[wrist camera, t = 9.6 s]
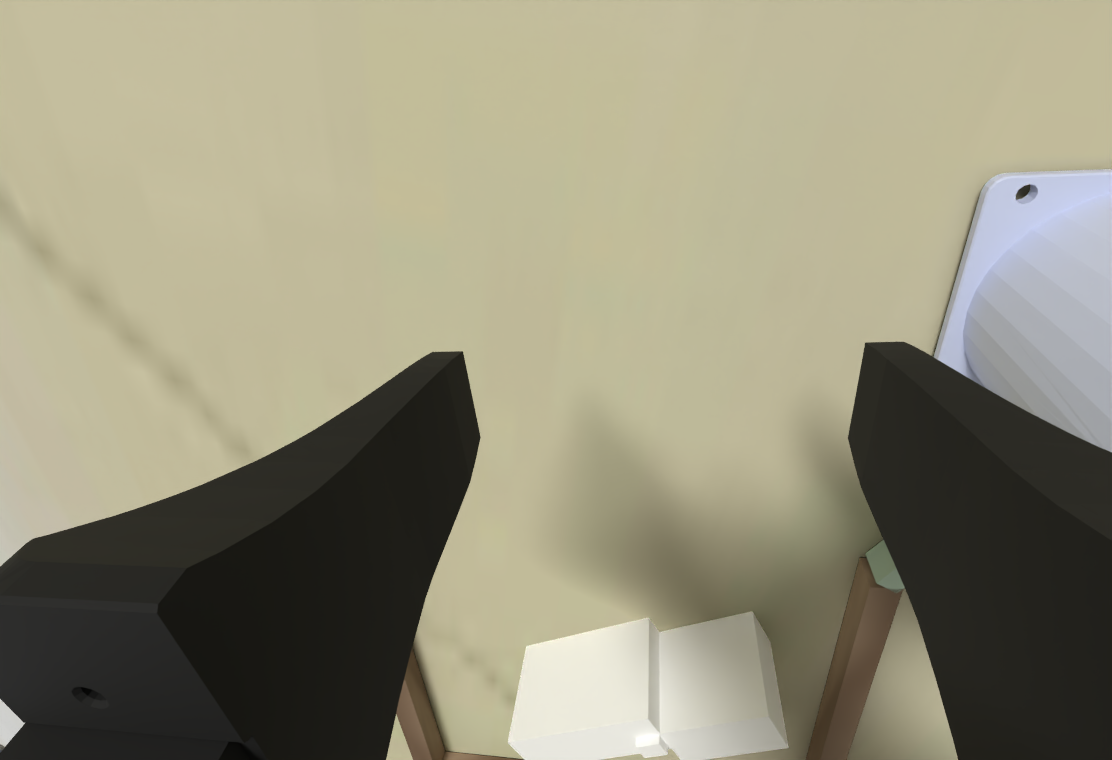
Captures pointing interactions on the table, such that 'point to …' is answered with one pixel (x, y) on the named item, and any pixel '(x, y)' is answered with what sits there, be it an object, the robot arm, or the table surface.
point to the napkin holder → (650, 693)
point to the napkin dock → (841, 698)
